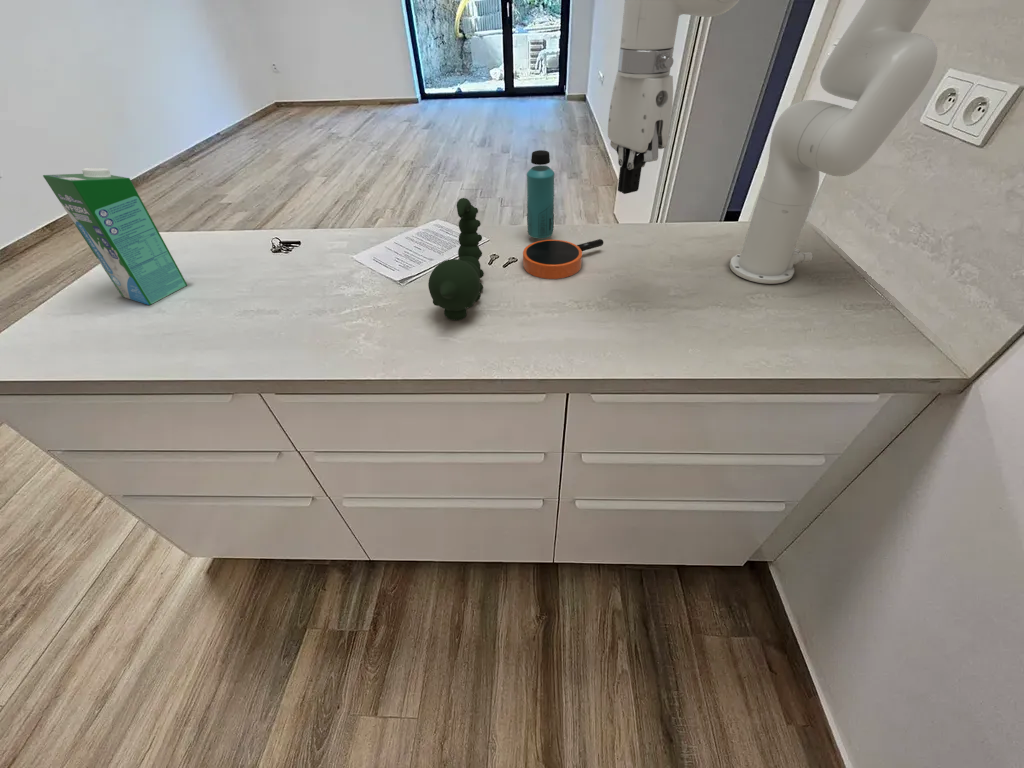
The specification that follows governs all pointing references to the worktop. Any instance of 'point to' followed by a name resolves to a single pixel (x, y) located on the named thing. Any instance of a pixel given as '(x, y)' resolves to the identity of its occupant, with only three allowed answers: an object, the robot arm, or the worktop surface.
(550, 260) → the pan
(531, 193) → the beverage bottle
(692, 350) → the worktop surface
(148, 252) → the milk carton
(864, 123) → the robot arm
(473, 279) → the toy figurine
